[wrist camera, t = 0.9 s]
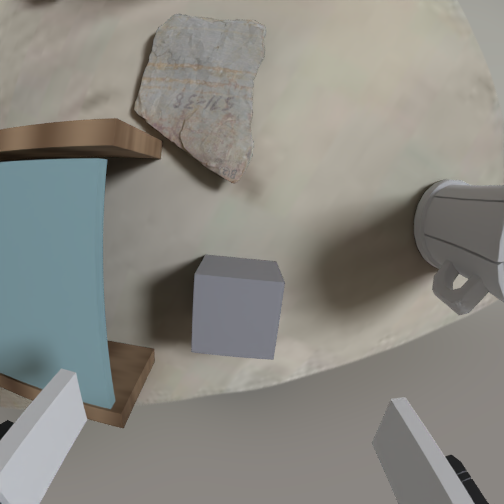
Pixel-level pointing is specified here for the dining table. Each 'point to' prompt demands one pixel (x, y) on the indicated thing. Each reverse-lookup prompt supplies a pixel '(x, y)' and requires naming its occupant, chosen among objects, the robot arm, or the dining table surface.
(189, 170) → the dining table surface
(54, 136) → the brown open boxy piece
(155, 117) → the stone
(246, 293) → the block
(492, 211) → the cup
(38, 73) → the dining table surface
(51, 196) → the trapdoor
